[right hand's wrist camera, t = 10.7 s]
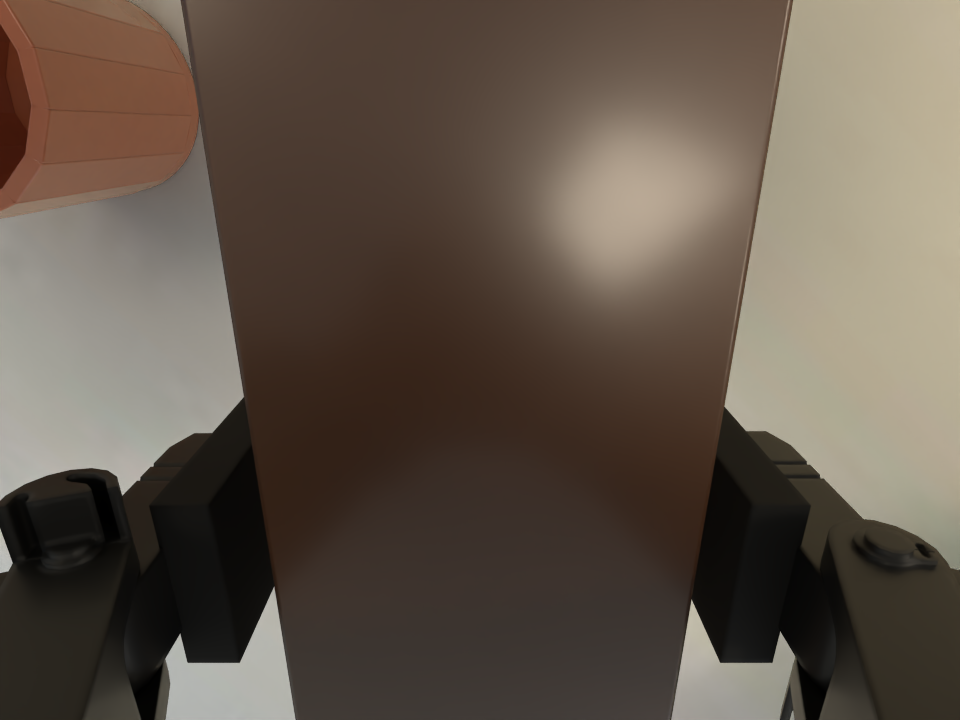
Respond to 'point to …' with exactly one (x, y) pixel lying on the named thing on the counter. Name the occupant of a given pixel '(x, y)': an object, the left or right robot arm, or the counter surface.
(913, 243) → the counter surface
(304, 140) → the walnut bar
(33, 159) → the terracotta cup
